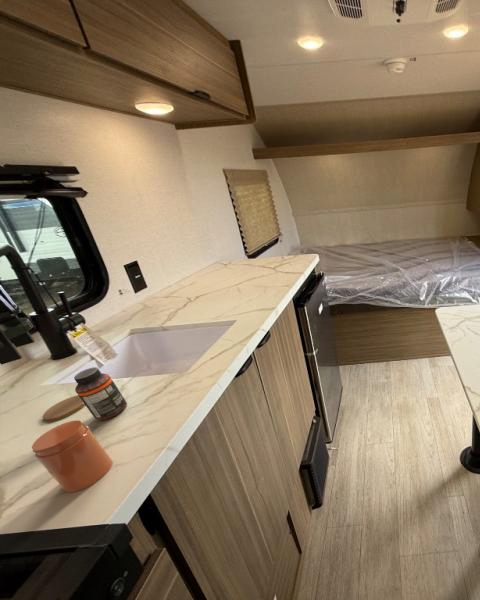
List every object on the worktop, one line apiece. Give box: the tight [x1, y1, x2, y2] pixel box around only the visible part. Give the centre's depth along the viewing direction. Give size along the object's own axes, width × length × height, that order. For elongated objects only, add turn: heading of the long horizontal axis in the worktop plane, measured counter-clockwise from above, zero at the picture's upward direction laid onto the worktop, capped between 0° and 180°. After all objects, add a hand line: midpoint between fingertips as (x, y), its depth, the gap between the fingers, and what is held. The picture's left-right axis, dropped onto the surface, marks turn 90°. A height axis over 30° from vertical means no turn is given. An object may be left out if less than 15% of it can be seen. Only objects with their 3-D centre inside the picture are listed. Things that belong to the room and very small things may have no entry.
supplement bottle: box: [73, 366, 128, 421], centre depth 71 cm, size 6×6×11 cm
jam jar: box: [31, 419, 113, 493], centre depth 55 cm, size 7×7×10 cm
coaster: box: [42, 394, 86, 422], centre depth 76 cm, size 8×8×1 cm
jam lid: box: [0, 317, 34, 340], centre depth 62 cm, size 8×8×2 cm
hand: (18, 352), depth 64 cm, fingers closed on jam lid, 8 cm apart
